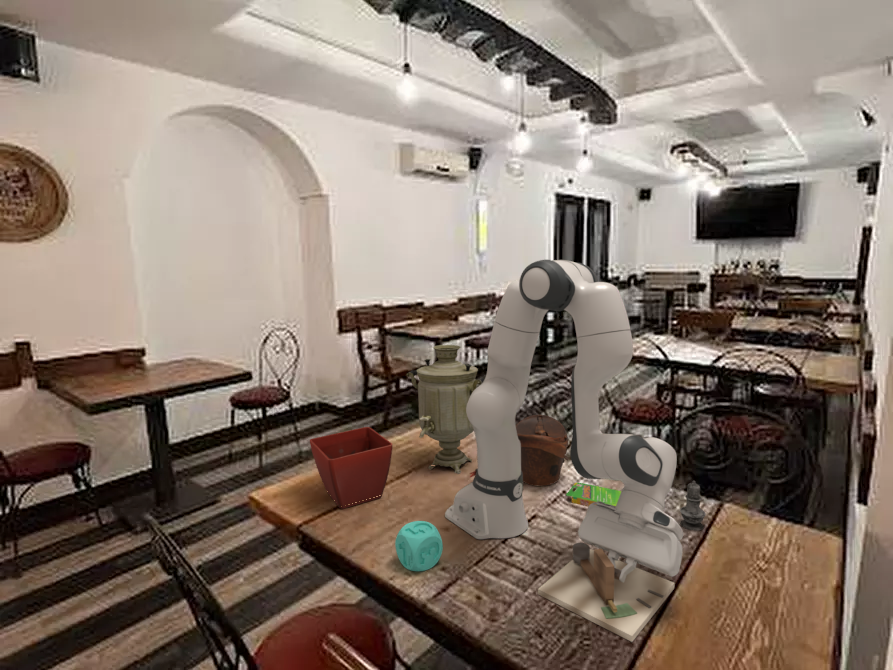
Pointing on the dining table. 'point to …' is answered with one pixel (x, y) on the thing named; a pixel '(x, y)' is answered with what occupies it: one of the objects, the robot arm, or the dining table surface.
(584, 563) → the tuning lever
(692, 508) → the chess piece
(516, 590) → the dining table surface
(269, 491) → the dining table surface
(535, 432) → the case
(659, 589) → the dial board
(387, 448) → the plant pot
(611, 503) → the game box
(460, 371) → the samovar
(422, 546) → the decorative dice
